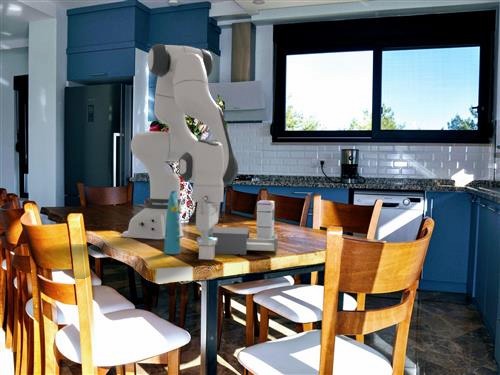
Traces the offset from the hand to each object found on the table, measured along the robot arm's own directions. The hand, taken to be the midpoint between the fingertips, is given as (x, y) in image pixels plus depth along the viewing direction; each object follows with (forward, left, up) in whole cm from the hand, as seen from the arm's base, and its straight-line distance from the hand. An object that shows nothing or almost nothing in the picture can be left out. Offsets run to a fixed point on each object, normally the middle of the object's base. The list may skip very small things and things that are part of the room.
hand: (207, 242), depth 133 cm
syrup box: (+16, +38, -5) cm, 42 cm away
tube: (-11, +5, -5) cm, 13 cm away
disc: (0, 0, 0) cm, 0 cm away
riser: (0, 0, -4) cm, 4 cm away
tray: (+14, +14, -3) cm, 20 cm away
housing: (+4, +14, -4) cm, 15 cm away
